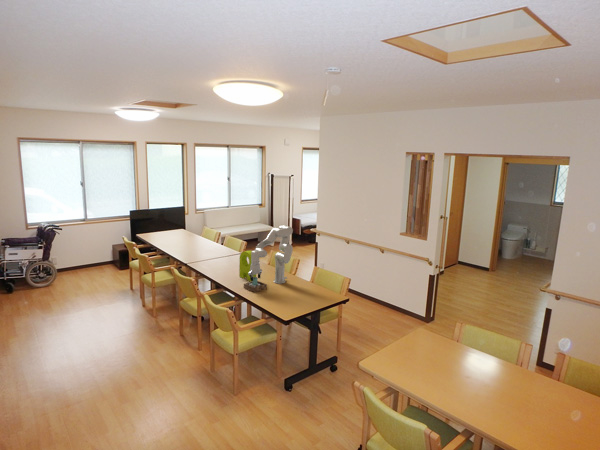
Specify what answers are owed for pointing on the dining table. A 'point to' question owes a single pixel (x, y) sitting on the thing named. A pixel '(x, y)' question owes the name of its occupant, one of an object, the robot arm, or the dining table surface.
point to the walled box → (255, 288)
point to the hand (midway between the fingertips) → (255, 279)
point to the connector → (254, 281)
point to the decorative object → (245, 265)
